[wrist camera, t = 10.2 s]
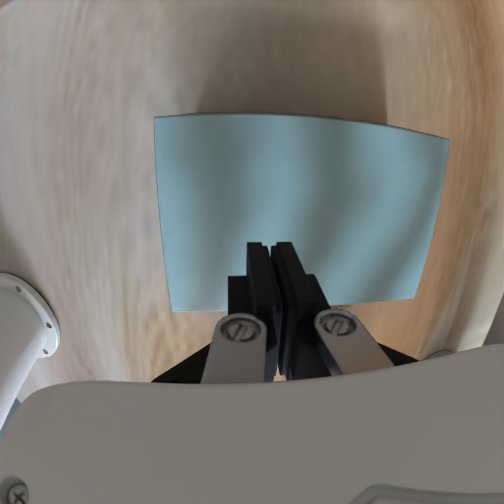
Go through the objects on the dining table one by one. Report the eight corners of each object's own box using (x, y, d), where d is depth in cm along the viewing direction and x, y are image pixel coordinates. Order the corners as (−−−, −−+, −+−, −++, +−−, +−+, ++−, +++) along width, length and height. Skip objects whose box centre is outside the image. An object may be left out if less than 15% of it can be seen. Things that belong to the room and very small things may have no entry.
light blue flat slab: (172, 303, 19) (171, 311, 18) (157, 116, 14) (153, 117, 13) (408, 291, 20) (414, 298, 19) (442, 137, 15) (450, 139, 14)
